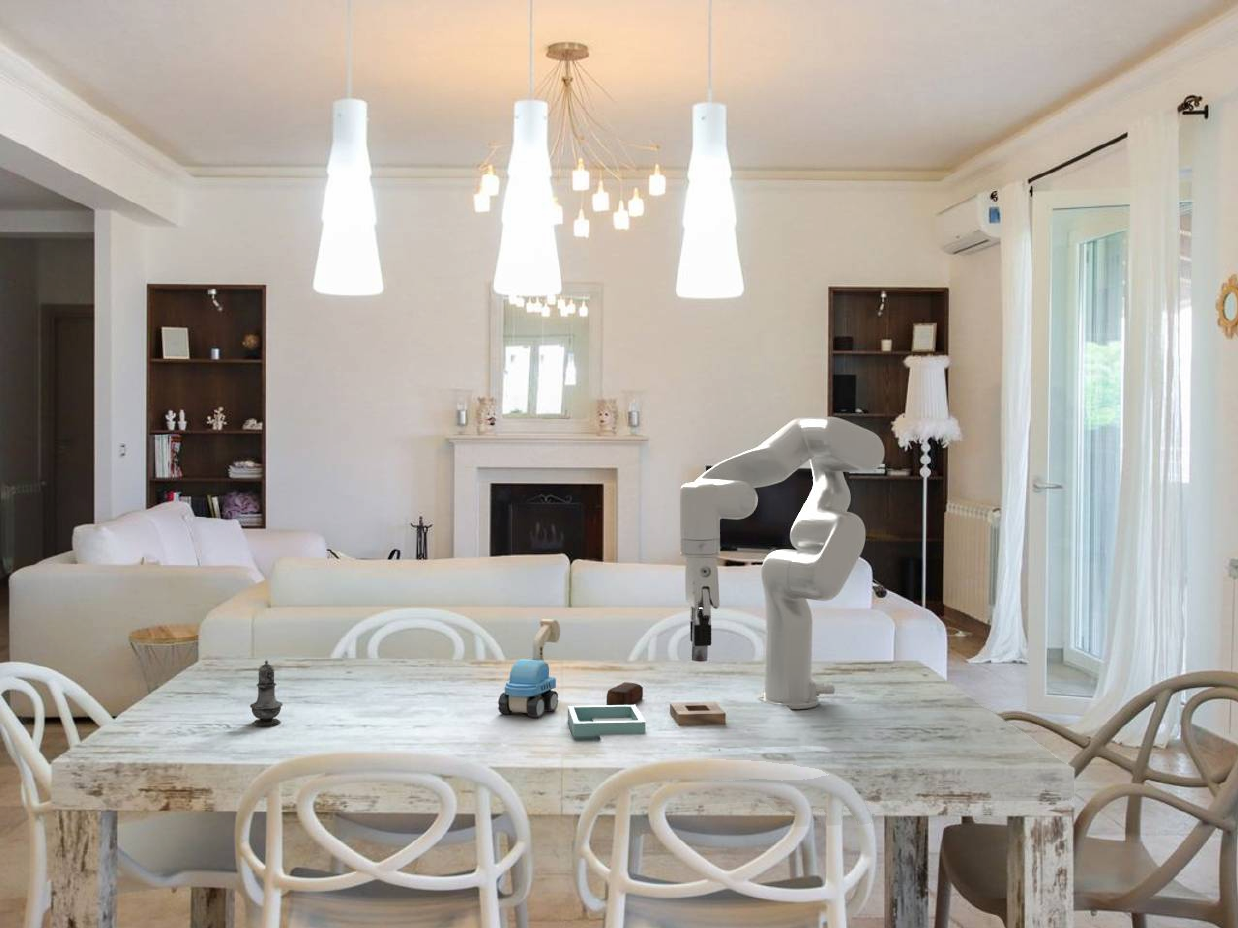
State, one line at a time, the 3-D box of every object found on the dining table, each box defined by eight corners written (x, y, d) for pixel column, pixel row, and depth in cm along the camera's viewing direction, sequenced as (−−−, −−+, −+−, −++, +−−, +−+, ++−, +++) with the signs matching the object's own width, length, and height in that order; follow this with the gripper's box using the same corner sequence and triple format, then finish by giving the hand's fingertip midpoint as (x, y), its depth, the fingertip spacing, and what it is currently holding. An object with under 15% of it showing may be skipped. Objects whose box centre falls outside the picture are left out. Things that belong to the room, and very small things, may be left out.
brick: (624, 716, 227) (625, 692, 227) (605, 713, 228) (606, 690, 228) (643, 704, 237) (643, 681, 237) (625, 702, 238) (625, 679, 238)
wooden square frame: (715, 717, 226) (715, 701, 226) (725, 729, 217) (725, 713, 217) (669, 718, 225) (670, 702, 225) (678, 730, 216) (678, 714, 216)
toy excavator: (573, 702, 237) (574, 619, 236) (534, 721, 222) (535, 632, 221) (537, 698, 240) (538, 616, 240) (495, 716, 225) (496, 628, 225)
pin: (705, 658, 223) (707, 606, 222) (708, 661, 220) (710, 609, 219) (690, 658, 222) (691, 606, 222) (693, 661, 219) (694, 609, 219)
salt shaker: (253, 728, 214) (253, 664, 213) (247, 721, 219) (247, 658, 218) (285, 725, 216) (285, 661, 216) (279, 718, 221) (279, 655, 221)
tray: (634, 720, 223) (635, 704, 223) (645, 738, 210) (645, 721, 210) (567, 721, 221) (567, 706, 221) (573, 739, 208) (574, 723, 208)
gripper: (729, 552, 213) (729, 651, 213) (710, 542, 229) (711, 634, 230) (688, 553, 212) (689, 653, 212) (673, 543, 228) (673, 635, 229)
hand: (700, 642), depth 221 cm, fingers closed on pin, 3 cm apart
